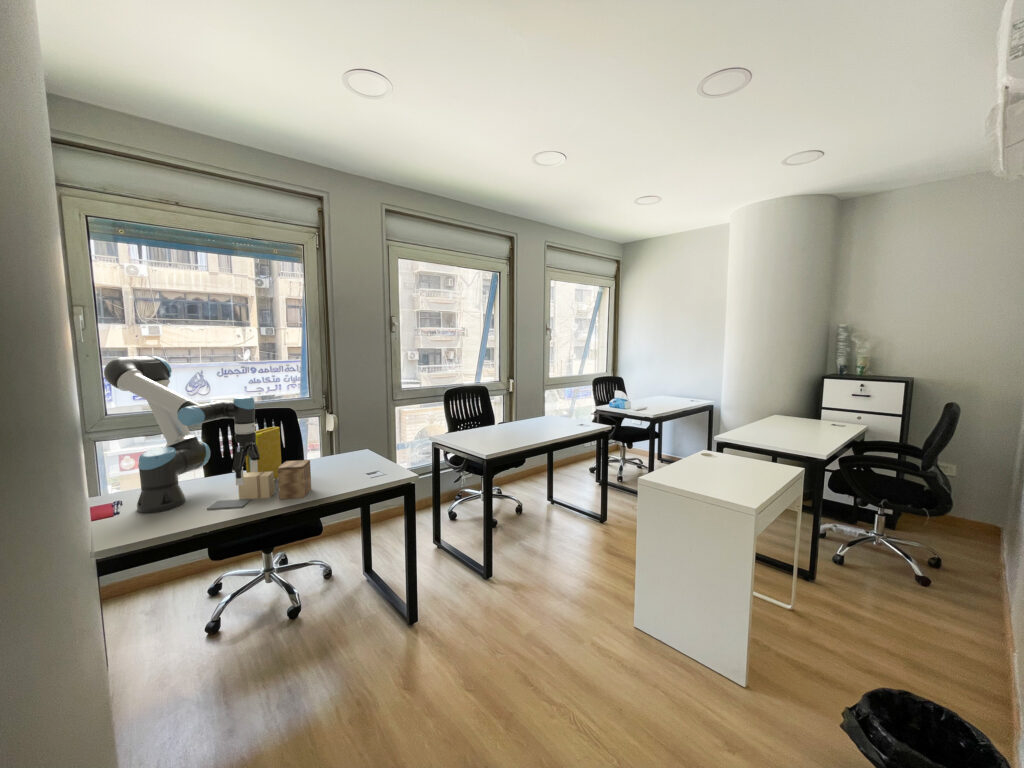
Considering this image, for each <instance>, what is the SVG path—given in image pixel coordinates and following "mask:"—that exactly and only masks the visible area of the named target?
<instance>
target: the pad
mask: <svg viewBox="0 0 1024 768" xmlns="http://www.w3.org/2000/svg"><path fill="white" fill-rule="evenodd" d="M251 501H252V499H239V498H237V499H221V500H216V501H214V503H212V504H211V505H210V506H209V507H207V508H206V509H207V510H208V511H209V510H222V509H223V510H228V509H240V508H241V509H242V508H244V507H246V506H247V504H249V503H250V502H251Z"/></svg>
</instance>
